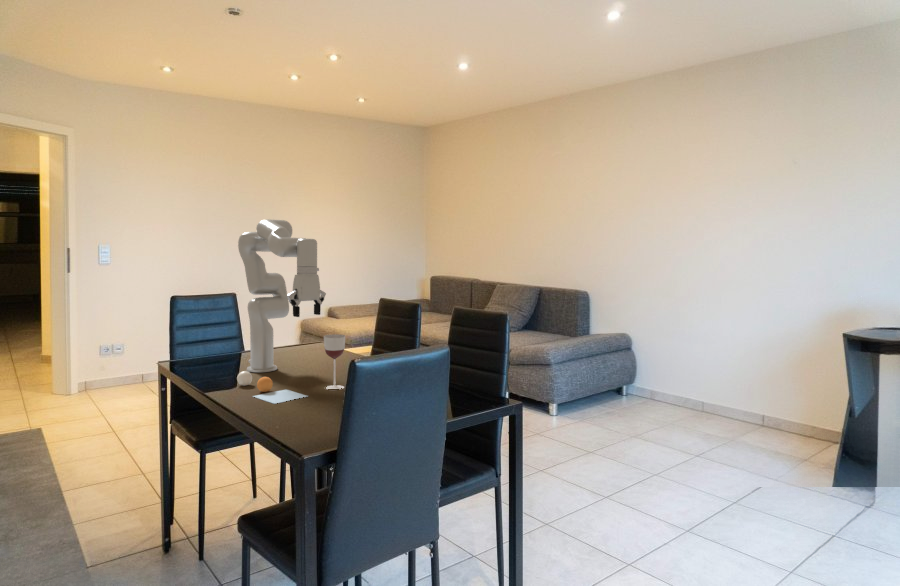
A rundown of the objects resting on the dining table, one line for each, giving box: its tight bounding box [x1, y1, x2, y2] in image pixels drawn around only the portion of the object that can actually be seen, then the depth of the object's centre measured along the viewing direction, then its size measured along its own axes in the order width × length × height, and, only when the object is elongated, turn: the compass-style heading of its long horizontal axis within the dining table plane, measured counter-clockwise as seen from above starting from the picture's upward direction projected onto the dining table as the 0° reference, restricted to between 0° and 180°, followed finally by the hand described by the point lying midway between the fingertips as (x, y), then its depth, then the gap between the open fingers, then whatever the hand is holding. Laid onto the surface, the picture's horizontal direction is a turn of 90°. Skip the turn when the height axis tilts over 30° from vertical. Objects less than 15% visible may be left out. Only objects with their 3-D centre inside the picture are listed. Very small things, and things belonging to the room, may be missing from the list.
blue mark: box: [252, 389, 309, 405], centre depth 208 cm, size 14×14×1 cm
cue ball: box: [236, 370, 253, 387], centre depth 223 cm, size 6×6×6 cm
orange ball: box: [256, 376, 274, 393], centre depth 214 cm, size 6×6×6 cm
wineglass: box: [323, 333, 346, 390], centre depth 222 cm, size 8×9×20 cm
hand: (306, 315), depth 222 cm, fingers open, 9 cm apart
